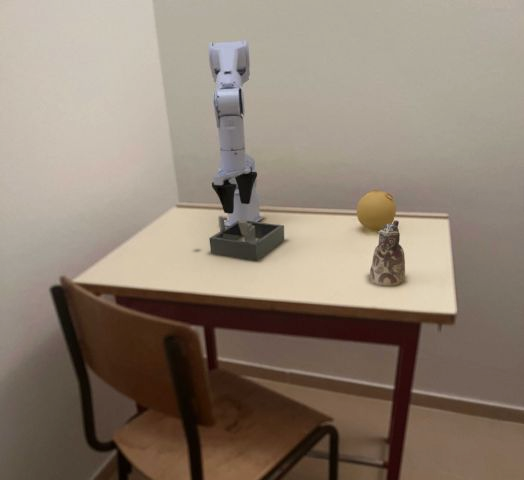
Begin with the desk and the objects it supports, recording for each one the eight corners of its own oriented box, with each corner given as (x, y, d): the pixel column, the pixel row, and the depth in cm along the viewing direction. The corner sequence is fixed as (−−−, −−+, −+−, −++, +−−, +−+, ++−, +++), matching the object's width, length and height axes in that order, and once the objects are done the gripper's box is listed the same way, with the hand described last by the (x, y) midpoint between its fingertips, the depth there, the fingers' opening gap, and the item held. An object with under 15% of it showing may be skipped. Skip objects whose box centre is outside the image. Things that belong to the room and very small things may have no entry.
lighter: (249, 241, 132) (247, 210, 128) (256, 242, 132) (254, 211, 127) (240, 252, 126) (237, 220, 122) (247, 252, 126) (244, 220, 122)
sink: (235, 233, 138) (233, 207, 134) (284, 240, 131) (283, 213, 128) (205, 252, 127) (202, 224, 124) (256, 261, 121) (255, 232, 117)
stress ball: (395, 236, 130) (398, 196, 125) (355, 235, 131) (357, 196, 126) (393, 222, 138) (396, 185, 133) (355, 222, 140) (357, 185, 134)
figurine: (362, 279, 110) (366, 224, 103) (382, 268, 114) (386, 215, 107) (391, 288, 105) (396, 232, 99) (410, 277, 109) (416, 222, 103)
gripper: (230, 156, 109) (235, 219, 116) (263, 142, 119) (266, 201, 126) (202, 154, 112) (209, 215, 119) (237, 141, 122) (242, 198, 130)
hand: (237, 208), depth 123 cm, fingers open, 7 cm apart
